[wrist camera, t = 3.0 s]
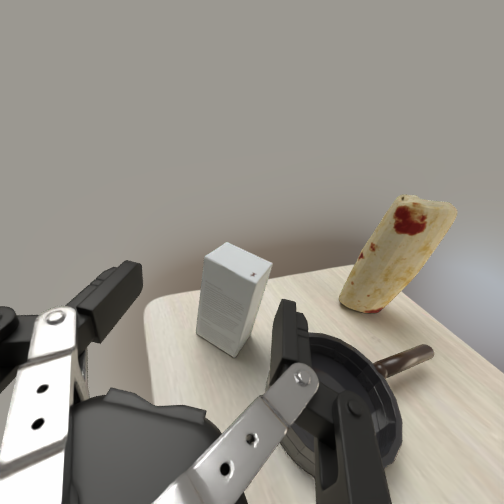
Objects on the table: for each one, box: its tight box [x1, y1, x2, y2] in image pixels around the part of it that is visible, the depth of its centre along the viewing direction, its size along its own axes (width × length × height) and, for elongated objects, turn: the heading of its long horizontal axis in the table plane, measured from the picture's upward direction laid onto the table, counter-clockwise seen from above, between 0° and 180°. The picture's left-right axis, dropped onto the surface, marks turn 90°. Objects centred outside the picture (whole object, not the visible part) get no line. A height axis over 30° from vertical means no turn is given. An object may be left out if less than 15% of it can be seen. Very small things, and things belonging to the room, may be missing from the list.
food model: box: [339, 195, 457, 313], centre depth 35 cm, size 10×7×20 cm
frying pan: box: [265, 333, 402, 477], centre depth 24 cm, size 13×13×4 cm
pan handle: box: [373, 344, 434, 379], centre depth 28 cm, size 11×2×2 cm, turn 113°
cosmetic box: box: [196, 242, 272, 358], centre depth 26 cm, size 6×4×12 cm
